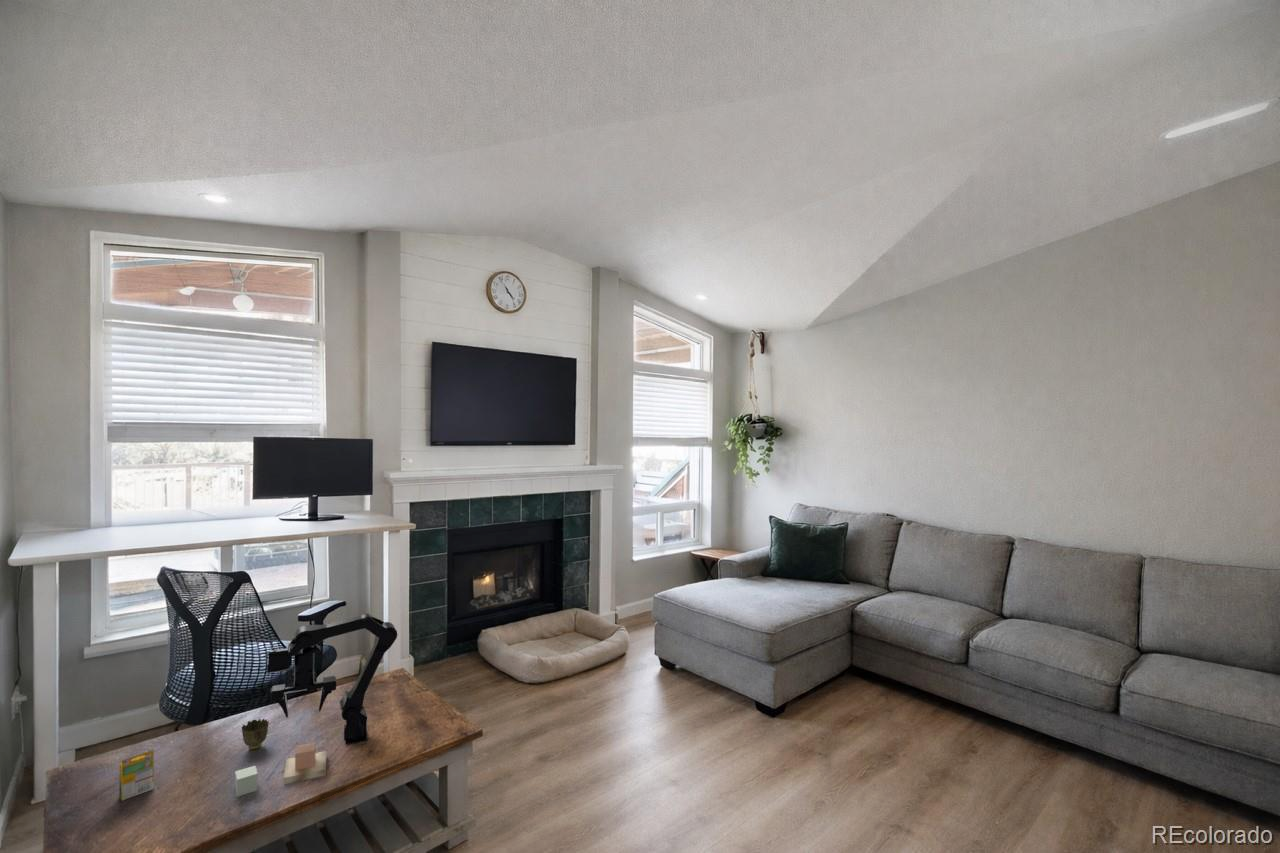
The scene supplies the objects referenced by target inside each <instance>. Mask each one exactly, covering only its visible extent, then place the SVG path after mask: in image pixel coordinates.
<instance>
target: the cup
mask: <svg viewBox="0 0 1280 853" xmlns="http://www.w3.org/2000/svg"><path fill="white" fill-rule="evenodd" d="M268 730H269V720H267V719H266V718H263V719H261V718H259V719H258V720H257V719H254V718H253V719H252V720H251V721H250V720H248V722H247V723H246V724H242V726H241V733H242V740H243V743H244V744H245V745H246V746H248V747H247V749H248V750H249V751H257V750H259V749H261V747H262V745H263V744H262V743H263V742H264V741H265V740H266V739H267V736H268Z"/></svg>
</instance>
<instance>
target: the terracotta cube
mask: <svg viewBox="0 0 1280 853" xmlns="http://www.w3.org/2000/svg"><path fill="white" fill-rule="evenodd" d="M315 753H316V742H311V743H305V744H300V745H297V746H296V750H295V754H294V757H295V770H300V769H305V768H310V767H314V763H315Z"/></svg>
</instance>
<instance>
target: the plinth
mask: <svg viewBox="0 0 1280 853" xmlns="http://www.w3.org/2000/svg"><path fill="white" fill-rule="evenodd" d="M327 753H328V752H327V750H324V751H319V752H315V763H314V767H310V768H305V769H300V770H295V756H294V757H289V758H286V761H285V762H286V763H285V769H284V775H283V785H287V784H291V783H296V782H301V781H306V780H311V779H314V778H319V777H325V776H326V775H327V774H326V773H327V772H326V771H327V770H326V769H327Z"/></svg>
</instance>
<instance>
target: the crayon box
mask: <svg viewBox="0 0 1280 853" xmlns="http://www.w3.org/2000/svg"><path fill="white" fill-rule="evenodd" d="M154 750H155V749H152V750H148V751H145V752H142V753H139V754H136V755H133V756H130V757H127V758H124V759H121V762H119V791H118V792H119V793H118V796H119V797H118V798H119V799H120V801H121V802H123V801H125V800H127V799H131V798H133V797H136V796H138V795H140V794H144V793H147V792H150V791H153V790H154V789H155V788H154V787H155V786H154V784H155V783H154V782H155V781H154V780H155V779H154V778H155V775H154V772H155V767H154V766H155V765H154V764H155V763H154V762H155V759H154V755H155V754H154Z"/></svg>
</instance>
